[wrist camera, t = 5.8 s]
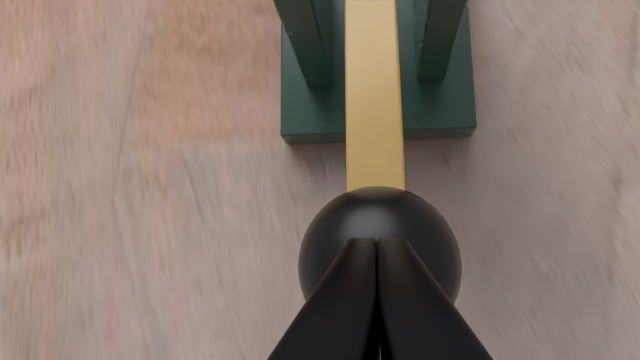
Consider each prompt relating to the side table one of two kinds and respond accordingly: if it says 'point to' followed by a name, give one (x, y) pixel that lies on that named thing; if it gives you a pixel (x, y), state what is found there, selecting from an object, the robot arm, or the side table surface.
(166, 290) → the side table surface
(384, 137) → the lever
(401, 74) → the switch bracket
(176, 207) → the side table surface
